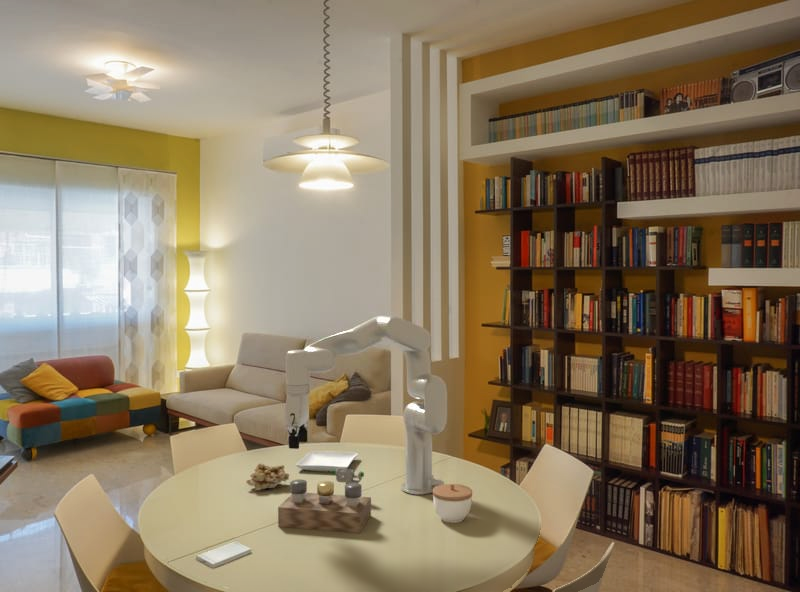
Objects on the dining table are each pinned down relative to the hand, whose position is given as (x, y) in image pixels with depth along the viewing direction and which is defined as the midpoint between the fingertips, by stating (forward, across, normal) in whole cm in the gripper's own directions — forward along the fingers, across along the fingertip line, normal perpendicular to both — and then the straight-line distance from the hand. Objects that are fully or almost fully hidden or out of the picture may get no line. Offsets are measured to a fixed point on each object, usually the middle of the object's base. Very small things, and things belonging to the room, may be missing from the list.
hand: (298, 444), depth 200 cm
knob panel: (+24, 0, +9) cm, 25 cm away
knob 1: (+20, 0, 0) cm, 20 cm away
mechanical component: (+24, -20, +11) cm, 33 cm away
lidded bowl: (+24, -10, +48) cm, 55 cm away
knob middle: (+20, 0, +9) cm, 22 cm away
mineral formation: (+24, -27, -21) cm, 42 cm away
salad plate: (+24, -56, -8) cm, 62 cm away
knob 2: (+20, 0, +18) cm, 27 cm away
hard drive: (+25, +29, -11) cm, 40 cm away
